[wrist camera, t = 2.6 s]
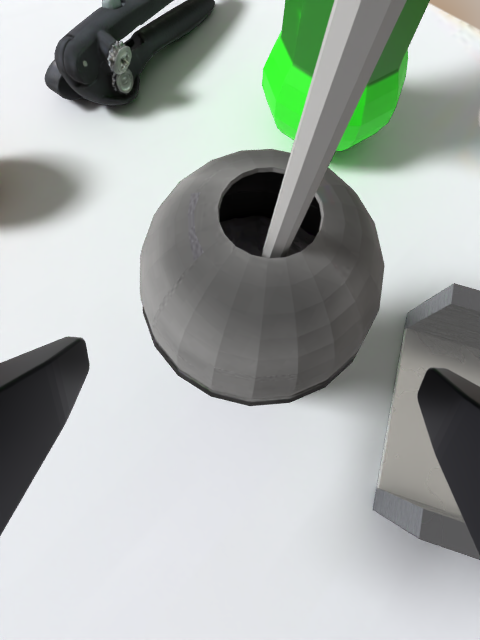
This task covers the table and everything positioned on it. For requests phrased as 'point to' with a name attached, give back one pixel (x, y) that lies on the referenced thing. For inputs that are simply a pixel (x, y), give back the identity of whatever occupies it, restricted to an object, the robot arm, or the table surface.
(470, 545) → the box
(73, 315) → the table surface
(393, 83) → the plastic bottle
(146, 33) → the can opener
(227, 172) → the beverage cup
